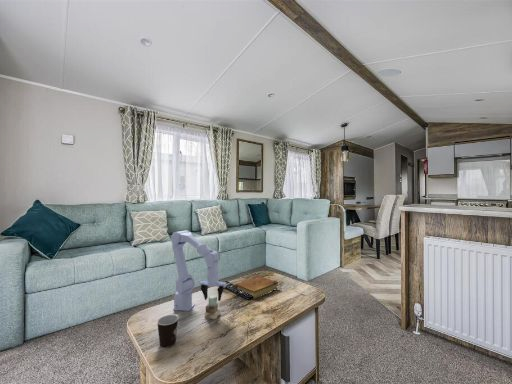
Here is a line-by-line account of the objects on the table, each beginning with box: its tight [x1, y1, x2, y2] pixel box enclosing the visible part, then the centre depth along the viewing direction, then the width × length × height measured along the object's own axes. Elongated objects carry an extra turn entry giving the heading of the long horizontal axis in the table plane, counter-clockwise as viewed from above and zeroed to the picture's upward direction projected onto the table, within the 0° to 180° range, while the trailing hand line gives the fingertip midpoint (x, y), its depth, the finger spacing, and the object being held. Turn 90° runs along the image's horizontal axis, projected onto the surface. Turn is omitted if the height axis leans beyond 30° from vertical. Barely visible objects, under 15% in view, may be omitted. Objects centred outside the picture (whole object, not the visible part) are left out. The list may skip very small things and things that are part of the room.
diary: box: [234, 275, 279, 300], centre depth 161 cm, size 23×19×6 cm
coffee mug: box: [156, 314, 179, 348], centre depth 105 cm, size 12×9×10 cm
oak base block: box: [204, 307, 221, 320], centre depth 127 cm, size 6×6×3 cm
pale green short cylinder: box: [208, 295, 218, 307], centre depth 127 cm, size 4×4×4 cm
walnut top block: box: [205, 302, 219, 313], centre depth 127 cm, size 5×5×3 cm
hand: (212, 299), depth 127 cm, fingers open, 7 cm apart
